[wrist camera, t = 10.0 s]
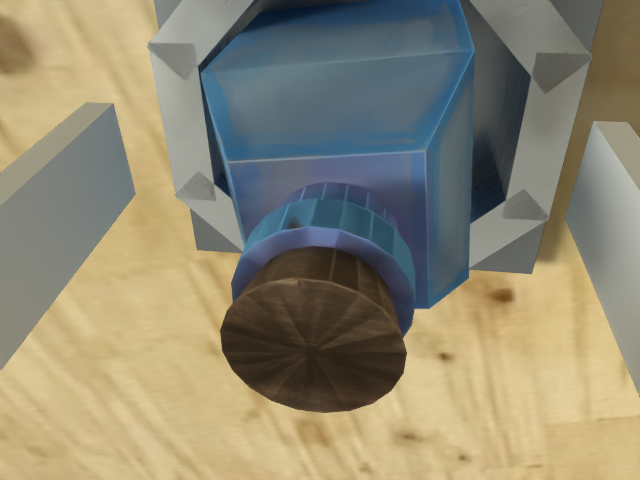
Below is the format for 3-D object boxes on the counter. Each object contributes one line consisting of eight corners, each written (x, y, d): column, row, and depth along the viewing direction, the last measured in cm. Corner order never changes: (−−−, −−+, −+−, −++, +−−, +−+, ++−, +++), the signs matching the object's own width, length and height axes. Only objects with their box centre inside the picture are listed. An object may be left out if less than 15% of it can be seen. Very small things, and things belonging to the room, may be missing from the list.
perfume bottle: (289, 180, 21) (186, 455, 12) (259, 11, 18) (77, 200, 8) (454, 172, 20) (494, 469, 10) (456, -10, 17) (517, 181, 7)
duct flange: (142, -144, 17) (78, -144, 13) (631, -152, 15) (691, -154, 12) (204, 237, 25) (172, 294, 21) (527, 259, 23) (546, 325, 20)
